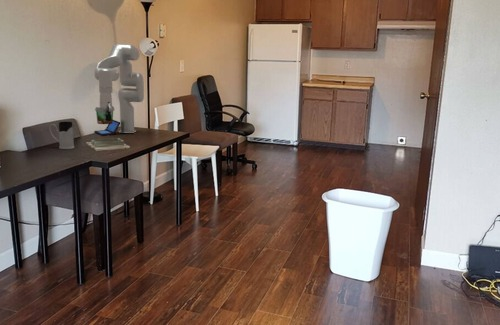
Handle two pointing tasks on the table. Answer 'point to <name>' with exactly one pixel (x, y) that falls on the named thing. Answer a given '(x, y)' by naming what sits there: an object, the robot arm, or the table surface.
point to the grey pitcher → (65, 135)
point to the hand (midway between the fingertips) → (106, 119)
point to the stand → (107, 144)
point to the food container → (103, 115)
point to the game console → (109, 129)
